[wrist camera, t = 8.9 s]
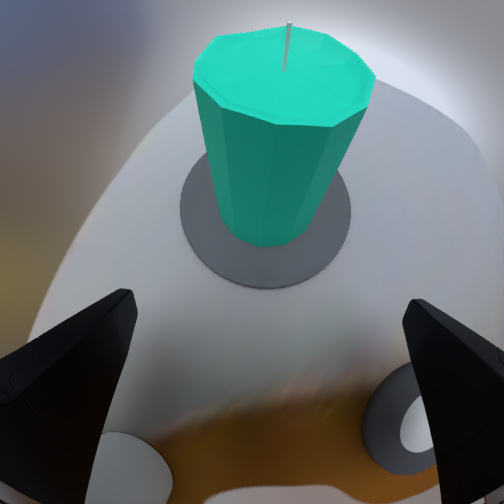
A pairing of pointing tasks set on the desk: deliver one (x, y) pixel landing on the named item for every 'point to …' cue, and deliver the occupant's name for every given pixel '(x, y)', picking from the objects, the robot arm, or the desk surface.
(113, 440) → the mug
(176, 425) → the desk surface
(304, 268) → the slate coaster
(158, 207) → the desk surface
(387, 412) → the dark grey washer
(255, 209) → the candle
